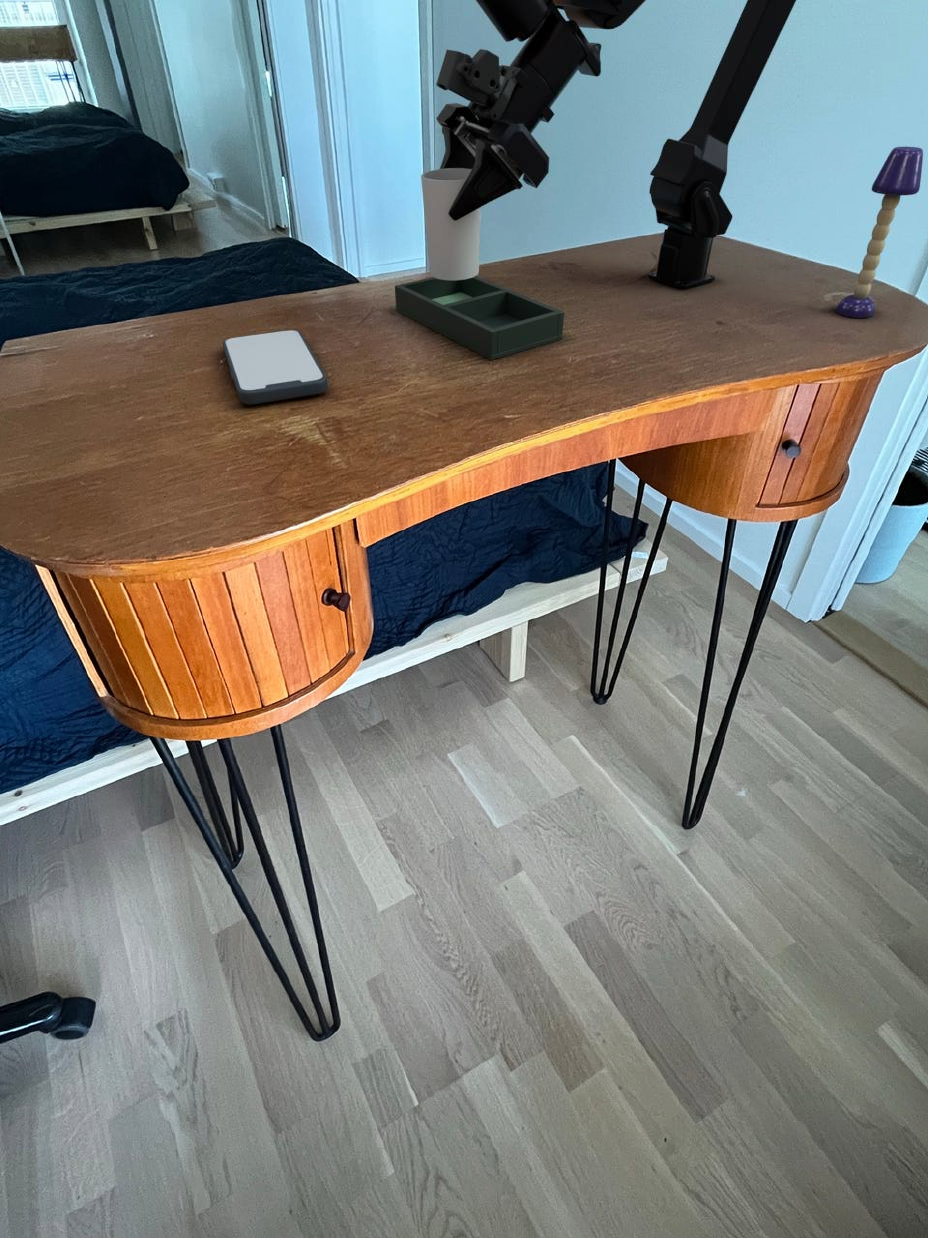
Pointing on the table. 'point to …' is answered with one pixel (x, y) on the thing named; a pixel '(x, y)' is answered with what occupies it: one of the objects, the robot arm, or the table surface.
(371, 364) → the table surface
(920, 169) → the toy lamp
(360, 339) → the table surface
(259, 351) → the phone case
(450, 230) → the white cup
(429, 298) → the tray
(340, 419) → the table surface
